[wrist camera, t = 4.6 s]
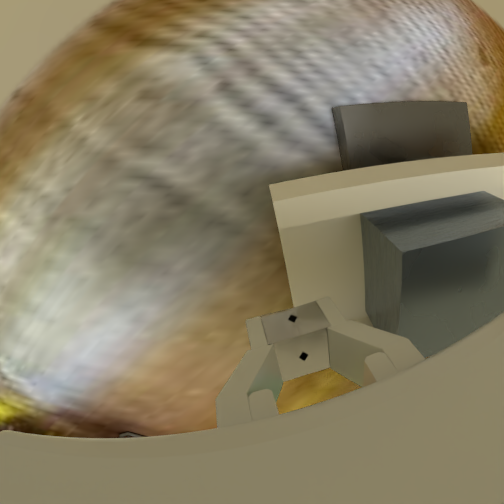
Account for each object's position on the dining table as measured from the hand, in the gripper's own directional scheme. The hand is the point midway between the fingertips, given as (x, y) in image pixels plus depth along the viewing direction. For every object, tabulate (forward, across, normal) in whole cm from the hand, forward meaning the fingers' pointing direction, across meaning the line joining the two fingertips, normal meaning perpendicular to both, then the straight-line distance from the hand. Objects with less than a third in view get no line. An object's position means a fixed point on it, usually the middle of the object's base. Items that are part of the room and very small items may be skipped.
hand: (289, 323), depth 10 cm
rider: (+2, -8, 0) cm, 8 cm away
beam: (+2, -13, 0) cm, 13 cm away
